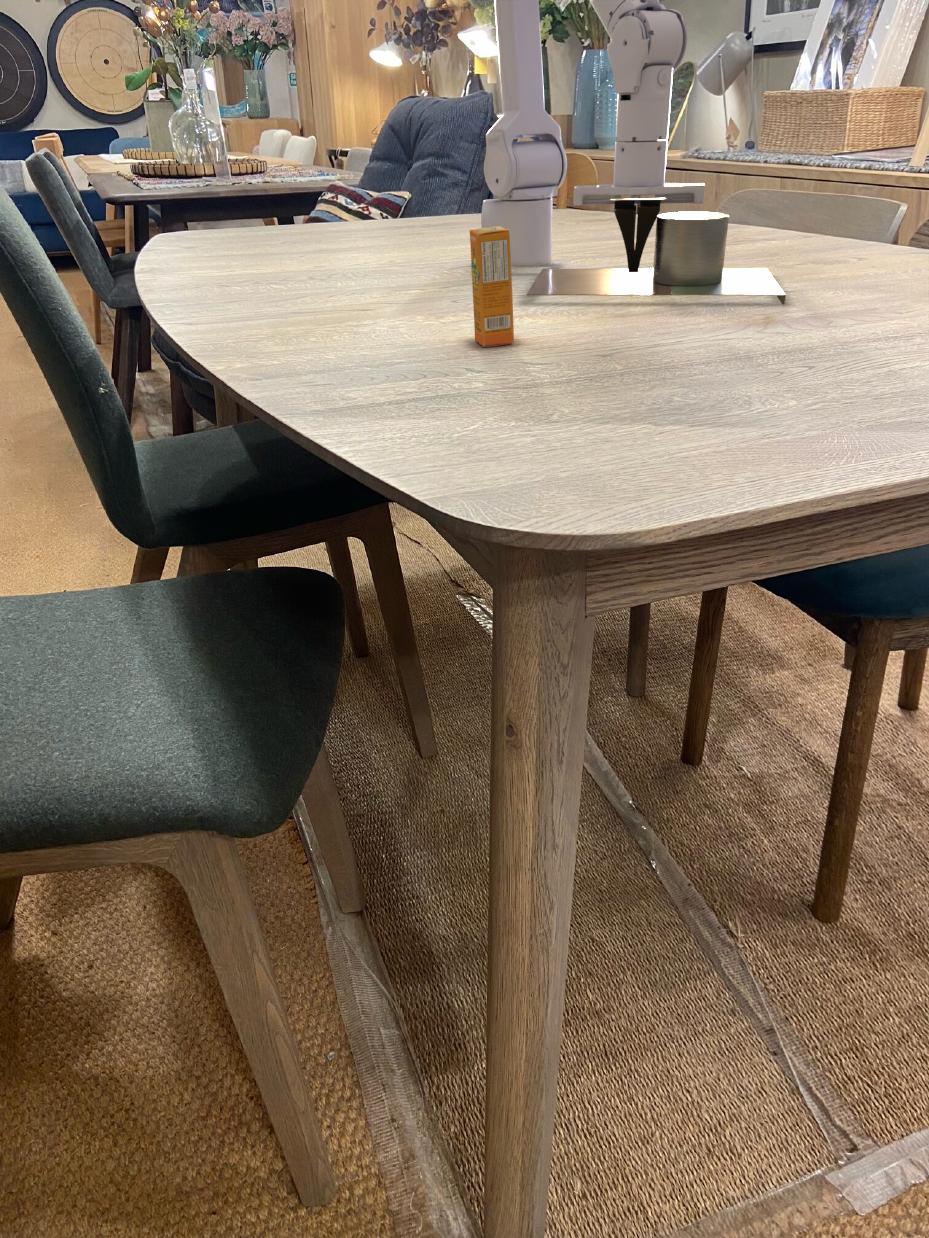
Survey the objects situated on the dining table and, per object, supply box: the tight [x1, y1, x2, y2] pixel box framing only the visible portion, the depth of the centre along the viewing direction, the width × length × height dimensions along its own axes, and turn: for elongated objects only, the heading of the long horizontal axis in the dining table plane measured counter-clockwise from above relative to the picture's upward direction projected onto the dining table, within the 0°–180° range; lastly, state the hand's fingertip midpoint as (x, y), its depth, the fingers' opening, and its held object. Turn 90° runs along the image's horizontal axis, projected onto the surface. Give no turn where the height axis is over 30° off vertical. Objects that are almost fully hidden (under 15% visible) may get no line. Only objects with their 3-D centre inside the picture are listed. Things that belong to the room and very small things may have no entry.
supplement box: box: [469, 226, 515, 348], centre depth 82 cm, size 3×3×10 cm
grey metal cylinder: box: [652, 211, 730, 286], centre depth 102 cm, size 8×8×7 cm
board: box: [526, 267, 787, 305], centre depth 105 cm, size 28×18×1 cm, turn 80°
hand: (633, 271), depth 105 cm, fingers closed
